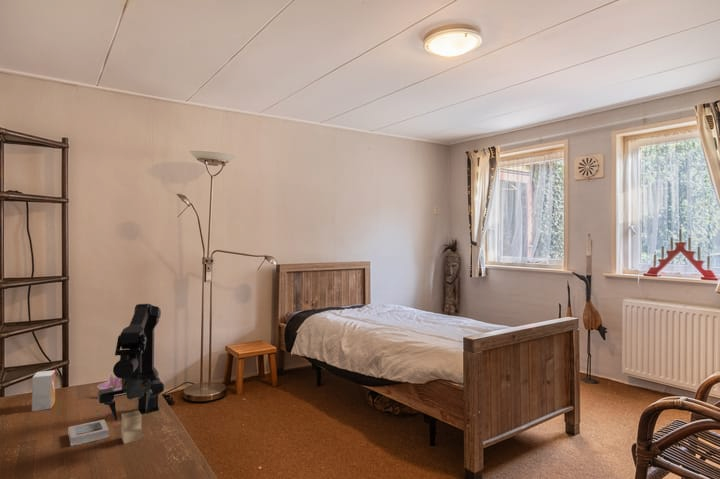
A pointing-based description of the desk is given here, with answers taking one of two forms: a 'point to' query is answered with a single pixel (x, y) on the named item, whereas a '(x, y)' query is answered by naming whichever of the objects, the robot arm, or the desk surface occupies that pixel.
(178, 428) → the desk surface
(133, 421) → the peg
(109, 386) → the lily
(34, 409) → the small box
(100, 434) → the rectangular frame
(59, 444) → the desk surface
